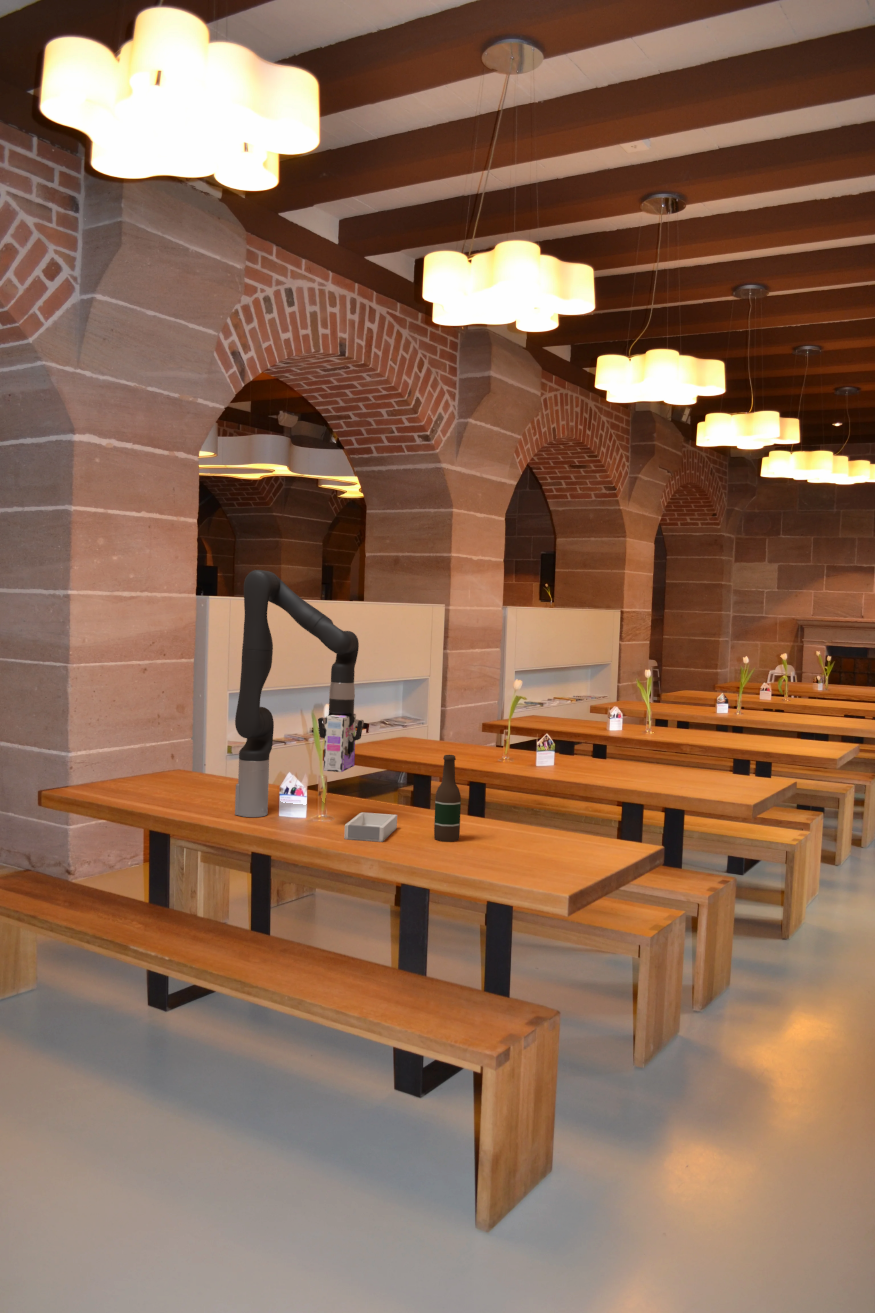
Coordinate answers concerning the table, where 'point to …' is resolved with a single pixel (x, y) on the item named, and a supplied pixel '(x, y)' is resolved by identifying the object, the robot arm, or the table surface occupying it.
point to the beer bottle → (447, 804)
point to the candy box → (338, 743)
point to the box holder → (370, 827)
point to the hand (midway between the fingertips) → (339, 752)
